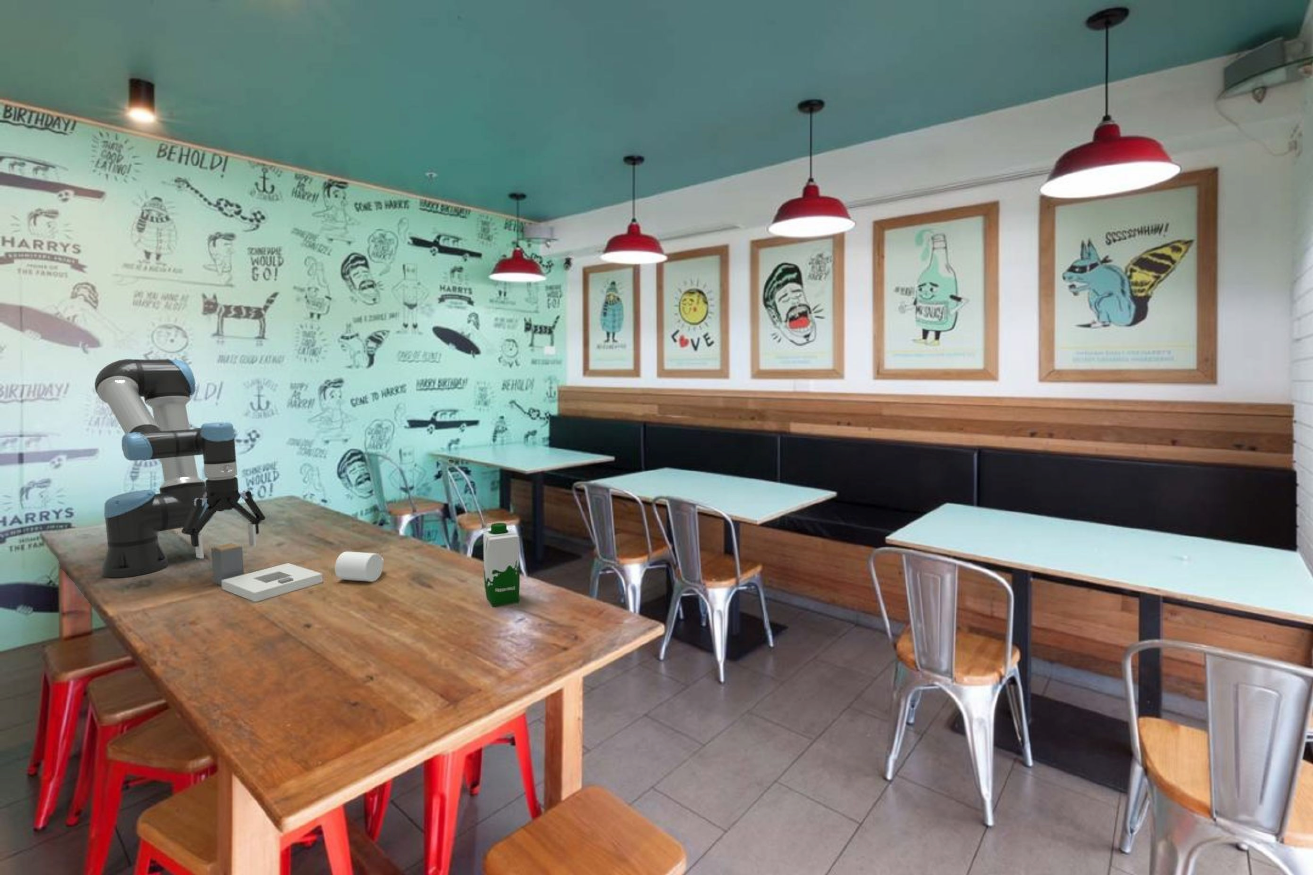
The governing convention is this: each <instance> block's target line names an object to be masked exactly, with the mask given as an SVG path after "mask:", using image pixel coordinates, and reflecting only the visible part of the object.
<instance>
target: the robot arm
mask: <svg viewBox="0 0 1313 875" xmlns="http://www.w3.org/2000/svg"><path fill="white" fill-rule="evenodd" d="M195 379H196V378H195V376H194V373H193V370H192V369H191V367H190V366H189V364H188V363H187V362H185V361H183V360H180V359H171V358H170V359H169V358H166V359H163V358H162V359H157V358H156V359H132V358H125V359H120V360H116V361H113V362H110V363H109V364H107V365H106V366H104V367H103V368H102V369H101V370H100V371H99V372H98V374H97V375H96V378H95V380H94V390H95V392H96V394H97V396H98V397H99V399H100V400H101V401H102V402H104V403H106V404H107V405H108V406H109V408H110V410H111V411H112V414H113V415H114V417H115V419H116V420H117V422H118V424H119V425H120V427H121V429H122V430H123V433H124V434H123V436H122V438H121V448H122V450H121V451H122V452H123V456H124V458H125V459H126V460H128V461H135V462H136V461H143V462H144V461H145V462H146V461H151V460H160V463H161V468H162V469H161V470H162V474H163V481H164V482H163V483H162V484H161V486H160V487H159V493H156V492H154V490H152V489H142V490H135V491H129V492H124V493H121V494H118V495H115V496H111V497H110V498H108V499H107V500H106V501H105V502H104V510H103V511H104V515H103V518H104V520H105V530H106V532H105V533H106V540H107V542H106V543H107V550H106V553H105V554H106V555H105V557H104V560H103V564H102V567H101V572H102V576H103V577H106V578H127V577H129V578H130V577H135V576H142V575H146V574H151V573H154V572H157V571H160V570H163V569H164V568H166V567H167V566H168V557H167V555H166V553H165V552H164V549H163V548H162V546H161V544H160V542H159V535H158V533H159V532H165V531H170V530H176V529H182V530H181V533H182V534H183V535H187V536H190V544H191V547H194V548H195V557H196V558H198V559H204V558H205V555H204V553H205V552H204V544H203V543H204V542H203V534H201V533H200V532H201V531H203V529H204V527H205V526H206V525H207V523H209V522H211V520H212V518H213V517H214V515H215V514H216V513H217V512H219V513H220V512H224V511H232V510H233V509H234V510H236V511H237V512H238V514H241V515H242V516H243V517H244V518H245V519H246V520H248V522H250V523H247V528H248V529H247V530H248V545H249V547H250V546H251V547H254V548H255V547H257V546H258V542H257V535H258V534H259V533H260V530H259V524H260V523H261V521H265V520H266V516H265V515H264V513H263V511H262V510H261V509H260V507H259V505H257V503H256V502H255V500H254V498H253V495H252V491H250V490H243V491H242V492H240V491H239V480H238V479H239V478H238V477H237V475H238V466H237V455H236V440H235V437H236V434H235V430H234V425H233V424H232V423H231V422H228V421H227V422H226V421H225V422H222V421H221V422H219V421H218V422H208V423H207V422H206V423H203V424H201V426H200V427H195V428H190V422H189V416H188V412H187V404H188V403H189V402H190V401H191V396H193V395H194V394H195V393H196V389H197V388H196V380H195ZM142 398H143V399H144V400H143V399H142ZM146 405H147V406H149V407H150V408H152V409H151V410H152V414H151V412H150V411H149V409H148V407H147V406H146ZM195 456H202V457H203V458H202V459H203V472H204V478H205V480H203V479H201V478H200V477H199V476H198V468H197V464H196V457H195ZM240 499H242V500H244V502H245V503H246V504H247V506H248V508H249V509H250V511H251V512H252V513H253V514H252V513H250V511H248V510H247V509H246V508H245V507H244V506H243V505H242V504H241V503H239V501H240Z"/></svg>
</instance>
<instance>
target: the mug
mask: <svg viewBox="0 0 1313 875" xmlns="http://www.w3.org/2000/svg"><path fill="white" fill-rule="evenodd" d="M384 562H385V560H384V558H383V557H382V556H381V555H380V554H378V553H373V552H359V551H344V552H342V553H341V554H339V555H338V557H337V558H336V561H335V565H334V571H335V575H336V577H337V578H338V579H340V580H346V581H354V582H355V581H359V582H371V583H373V582H375V581H378V579H379V578H380V576H381V574H382V572H383V568H384Z"/></svg>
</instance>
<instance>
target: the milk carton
mask: <svg viewBox="0 0 1313 875" xmlns="http://www.w3.org/2000/svg"><path fill="white" fill-rule="evenodd" d="M507 525H508V524H507V523H504V522H496V523H492V524H490V531H486V532H485V531H484V532H483V533H482V534H483V572H484V573H483V574H484V576H483V577H484V578H483V579H484V589H485V597H486V599H487V601H488V602H489V604H490V605H491V607H492V608H495V607H501V606H505V605H510V604H517V603H520V583H521V582H520V581H521V577H520V576H521V575H520V574H521V573H520V571H521V570H520V567H521V566H520V536H519V535H518V533H517V532H515V531H514V529H512V528H509V529H507Z"/></svg>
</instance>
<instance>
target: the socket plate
mask: <svg viewBox="0 0 1313 875" xmlns="http://www.w3.org/2000/svg"><path fill="white" fill-rule="evenodd" d="M221 581H222V586H221V589H222V590H223V591H225V592H229V593H231V594H234V595H236V596H239V597H241V598H244V599H246V600H249V601H251V602H254V603H257V602H259V601H263V600H268V599H271V598H275V597H277V596H281V595H284V594H287V593H291V592H294V591H295V592H296V591H297V590H301V589H304V588H308V587H311V586H315V585H318V584H322V583H323V573H321V572H318V571H315V570H312V569H309V568H305V567H302V566H298V565H295V564H291V563H289V562H287V563H284V564H279V565H276V566H272V567H268V568H264V569H260V570H256V571H253V572H250V573H244V575H240V576H236V577H232V578H228V579H224V580H221Z"/></svg>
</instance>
